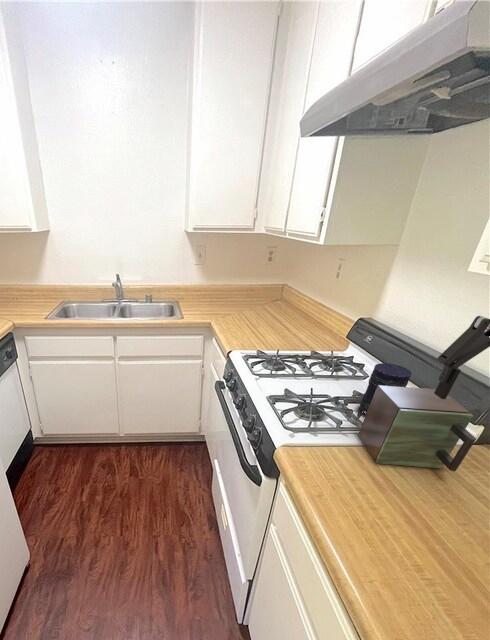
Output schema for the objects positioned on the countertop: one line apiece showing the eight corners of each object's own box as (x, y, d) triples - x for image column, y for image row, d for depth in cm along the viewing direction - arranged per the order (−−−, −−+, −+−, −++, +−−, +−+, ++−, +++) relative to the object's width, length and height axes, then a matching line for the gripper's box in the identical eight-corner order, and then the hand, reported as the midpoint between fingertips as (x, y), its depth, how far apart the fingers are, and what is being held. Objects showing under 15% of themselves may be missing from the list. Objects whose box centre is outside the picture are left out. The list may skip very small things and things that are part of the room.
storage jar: (395, 423, 105) (416, 378, 97) (360, 418, 107) (378, 373, 99) (387, 408, 113) (407, 365, 105) (355, 403, 115) (371, 361, 107)
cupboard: (438, 465, 88) (470, 412, 79) (374, 460, 89) (399, 407, 80) (414, 439, 98) (441, 389, 89) (357, 435, 99) (377, 385, 90)
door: (456, 485, 82) (492, 430, 73) (387, 479, 83) (415, 425, 74) (439, 466, 88) (470, 413, 79) (375, 461, 89) (399, 408, 80)
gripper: (587, 289, 64) (518, 392, 76) (449, 284, 64) (403, 387, 76) (630, 298, 58) (548, 409, 69) (477, 292, 58) (422, 403, 70)
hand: (472, 397), depth 73 cm, fingers open, 13 cm apart
